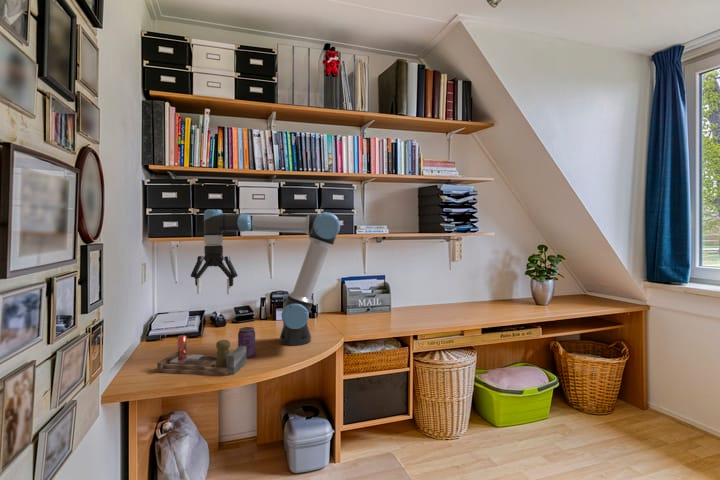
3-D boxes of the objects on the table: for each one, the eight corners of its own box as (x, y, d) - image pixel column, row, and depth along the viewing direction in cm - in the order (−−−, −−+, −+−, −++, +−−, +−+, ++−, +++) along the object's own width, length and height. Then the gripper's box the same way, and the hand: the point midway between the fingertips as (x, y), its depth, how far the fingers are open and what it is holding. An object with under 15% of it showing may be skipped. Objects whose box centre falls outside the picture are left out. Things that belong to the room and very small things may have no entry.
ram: (206, 360, 155) (206, 334, 155) (196, 367, 147) (195, 339, 147) (180, 359, 156) (180, 333, 156) (169, 366, 148) (168, 339, 148)
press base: (247, 362, 157) (247, 345, 157) (232, 375, 143) (232, 357, 143) (178, 359, 160) (177, 343, 160) (157, 372, 146) (156, 354, 146)
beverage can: (245, 352, 169) (245, 326, 168) (258, 354, 166) (258, 327, 166) (234, 357, 162) (234, 330, 162) (248, 360, 160) (248, 331, 159)
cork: (212, 370, 148) (211, 342, 148) (220, 364, 154) (219, 337, 154) (226, 371, 147) (226, 343, 147) (234, 365, 153) (233, 338, 153)
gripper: (244, 244, 169) (245, 292, 170) (191, 244, 171) (191, 291, 172) (237, 245, 161) (238, 295, 162) (181, 245, 164) (182, 294, 165)
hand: (214, 293), depth 167 cm, fingers open, 13 cm apart
